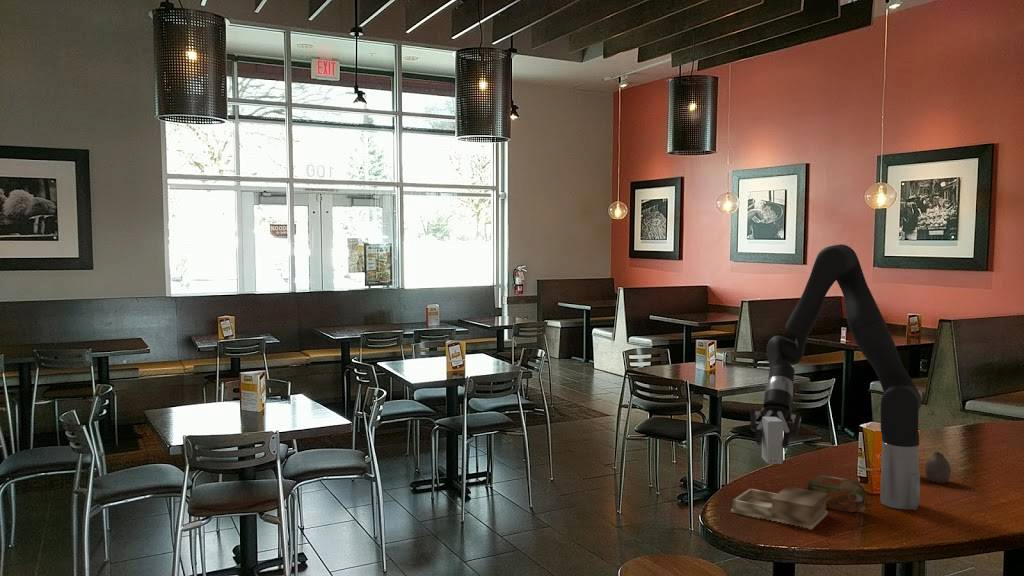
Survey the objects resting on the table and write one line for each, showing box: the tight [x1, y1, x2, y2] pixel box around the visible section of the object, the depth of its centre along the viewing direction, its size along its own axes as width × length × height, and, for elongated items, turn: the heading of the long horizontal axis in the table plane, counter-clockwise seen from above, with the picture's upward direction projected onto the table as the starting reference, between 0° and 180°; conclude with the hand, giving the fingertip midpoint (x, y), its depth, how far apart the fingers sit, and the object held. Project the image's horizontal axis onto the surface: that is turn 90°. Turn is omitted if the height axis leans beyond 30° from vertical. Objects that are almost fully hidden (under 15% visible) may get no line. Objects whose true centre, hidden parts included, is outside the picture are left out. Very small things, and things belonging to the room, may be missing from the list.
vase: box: [924, 451, 952, 484], centre depth 231 cm, size 7×7×9 cm
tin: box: [807, 474, 867, 513], centre depth 208 cm, size 15×3×8 cm, turn 49°
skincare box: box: [761, 417, 784, 465], centre depth 214 cm, size 6×4×12 cm
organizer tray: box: [730, 485, 828, 530], centre depth 203 cm, size 21×14×6 cm, turn 52°
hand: (771, 445), depth 212 cm, fingers closed on skincare box, 6 cm apart
